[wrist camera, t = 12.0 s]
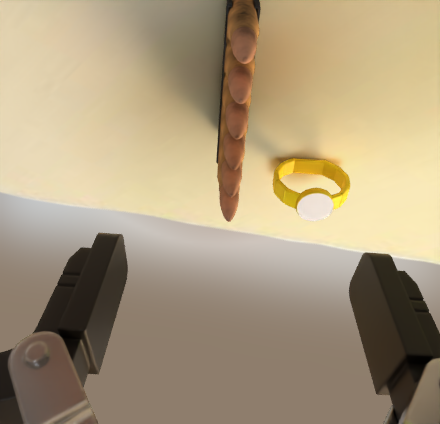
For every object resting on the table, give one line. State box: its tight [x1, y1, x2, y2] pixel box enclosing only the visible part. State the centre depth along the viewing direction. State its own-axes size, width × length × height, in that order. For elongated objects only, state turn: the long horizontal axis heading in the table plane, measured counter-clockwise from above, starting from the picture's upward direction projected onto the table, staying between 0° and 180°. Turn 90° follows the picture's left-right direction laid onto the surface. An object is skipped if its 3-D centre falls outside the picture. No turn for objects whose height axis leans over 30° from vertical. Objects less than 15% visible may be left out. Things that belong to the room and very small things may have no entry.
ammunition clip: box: [216, 0, 260, 222], centre depth 23 cm, size 11×2×12 cm, turn 176°
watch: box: [273, 158, 350, 221], centre depth 30 cm, size 6×3×6 cm, turn 89°
